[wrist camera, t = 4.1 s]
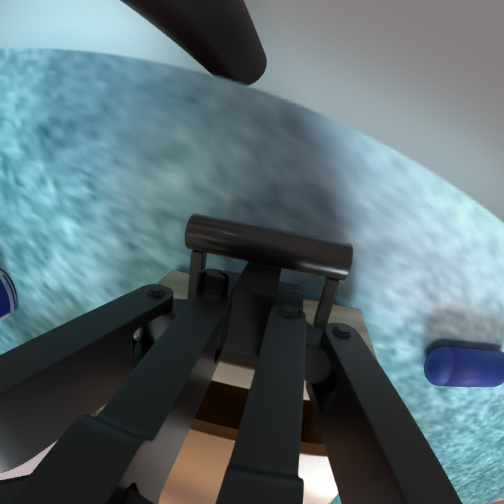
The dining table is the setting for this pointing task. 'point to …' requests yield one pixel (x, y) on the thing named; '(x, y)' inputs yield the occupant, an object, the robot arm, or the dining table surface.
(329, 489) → the cabinet
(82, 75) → the dining table surface
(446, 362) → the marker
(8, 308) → the energy drink
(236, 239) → the drawer
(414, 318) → the dining table surface
